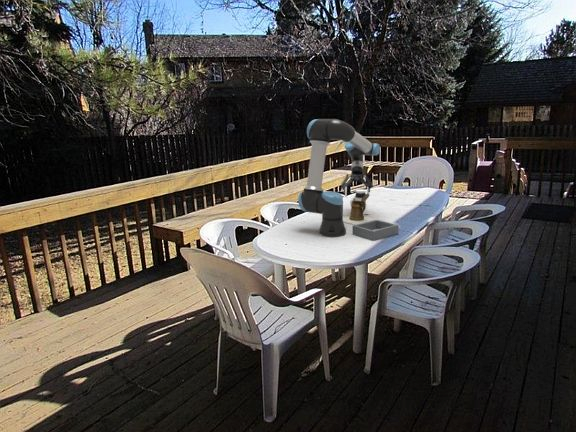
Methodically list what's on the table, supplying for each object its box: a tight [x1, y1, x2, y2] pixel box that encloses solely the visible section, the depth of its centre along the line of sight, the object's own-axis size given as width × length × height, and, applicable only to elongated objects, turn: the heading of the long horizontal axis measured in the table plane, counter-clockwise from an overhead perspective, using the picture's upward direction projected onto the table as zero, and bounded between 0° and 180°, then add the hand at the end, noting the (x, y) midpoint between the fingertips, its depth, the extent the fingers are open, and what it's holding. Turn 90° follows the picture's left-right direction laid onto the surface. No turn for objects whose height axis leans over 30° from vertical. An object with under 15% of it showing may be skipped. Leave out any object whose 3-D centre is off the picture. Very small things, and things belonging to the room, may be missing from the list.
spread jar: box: [349, 189, 367, 205], centre depth 309 cm, size 12×11×12 cm
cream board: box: [343, 215, 377, 226], centre depth 271 cm, size 18×18×1 cm
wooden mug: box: [349, 192, 370, 221], centre depth 268 cm, size 9×14×18 cm, turn 43°
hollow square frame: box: [351, 219, 399, 241], centre depth 240 cm, size 20×16×5 cm
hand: (356, 196), depth 270 cm, fingers open, 13 cm apart
